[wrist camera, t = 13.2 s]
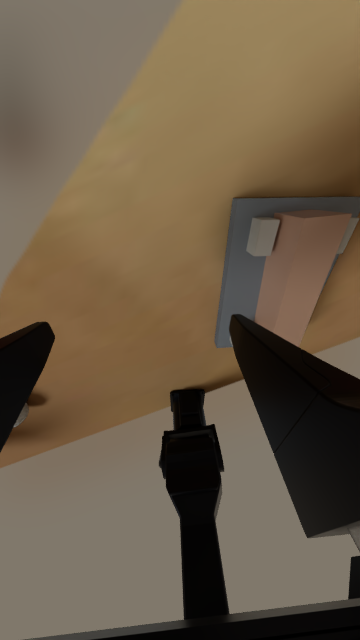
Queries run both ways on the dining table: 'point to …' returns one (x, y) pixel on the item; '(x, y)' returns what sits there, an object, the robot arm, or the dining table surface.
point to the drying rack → (263, 250)
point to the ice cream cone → (22, 415)
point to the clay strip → (298, 269)
